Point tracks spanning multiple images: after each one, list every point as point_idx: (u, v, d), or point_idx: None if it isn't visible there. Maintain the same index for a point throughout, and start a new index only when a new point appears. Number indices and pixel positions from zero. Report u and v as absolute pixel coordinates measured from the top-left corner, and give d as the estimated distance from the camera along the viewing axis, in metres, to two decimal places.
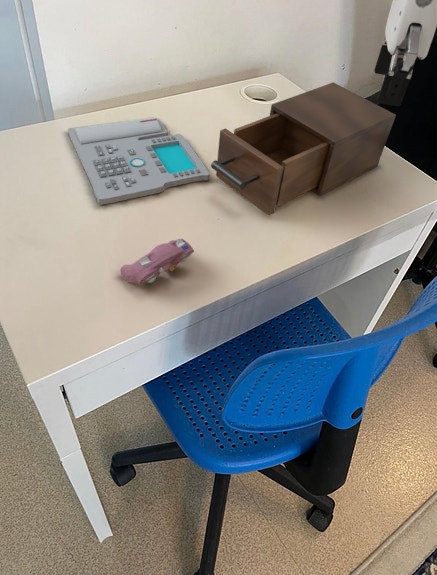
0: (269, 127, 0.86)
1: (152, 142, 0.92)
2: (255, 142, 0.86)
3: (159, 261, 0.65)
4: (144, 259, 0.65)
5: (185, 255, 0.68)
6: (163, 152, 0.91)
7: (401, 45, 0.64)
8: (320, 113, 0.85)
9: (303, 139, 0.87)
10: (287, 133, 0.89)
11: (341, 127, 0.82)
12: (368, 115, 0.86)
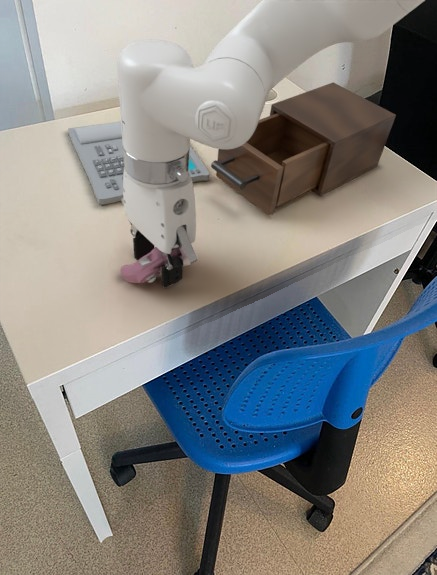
0: (269, 127, 0.86)
1: None
2: (255, 142, 0.86)
3: (159, 261, 0.65)
4: (144, 259, 0.65)
5: None
6: None
7: None
8: (320, 113, 0.85)
9: (303, 139, 0.87)
10: (287, 133, 0.89)
11: (341, 127, 0.82)
12: (368, 115, 0.86)
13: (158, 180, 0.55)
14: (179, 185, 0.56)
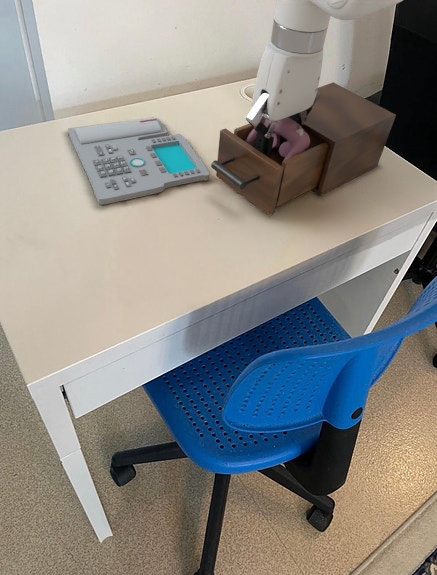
0: None
1: (152, 142, 0.92)
2: None
3: (298, 124, 0.80)
4: (299, 131, 0.78)
5: None
6: (163, 152, 0.91)
7: None
8: (320, 113, 0.85)
9: None
10: None
11: (341, 127, 0.82)
12: (368, 115, 0.86)
13: None
14: None
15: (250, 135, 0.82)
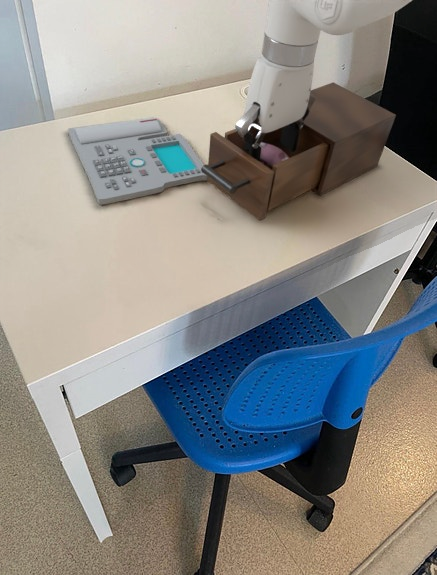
0: None
1: (152, 142, 0.92)
2: None
3: (285, 153, 0.82)
4: None
5: None
6: (163, 152, 0.91)
7: None
8: (320, 113, 0.85)
9: None
10: (279, 136, 0.88)
11: (341, 127, 0.82)
12: (368, 115, 0.86)
13: None
14: None
15: None
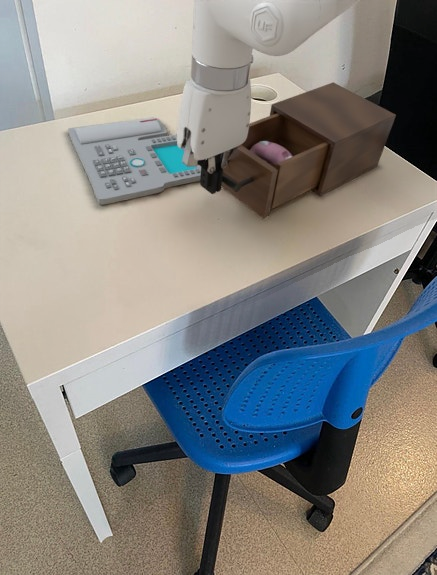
0: (264, 129, 0.85)
1: (152, 142, 0.92)
2: (250, 144, 0.85)
3: (288, 151, 0.82)
4: None
5: None
6: (163, 152, 0.91)
7: None
8: (320, 113, 0.85)
9: (298, 141, 0.87)
10: (282, 135, 0.89)
11: (341, 127, 0.82)
12: (368, 115, 0.86)
13: None
14: None
15: None
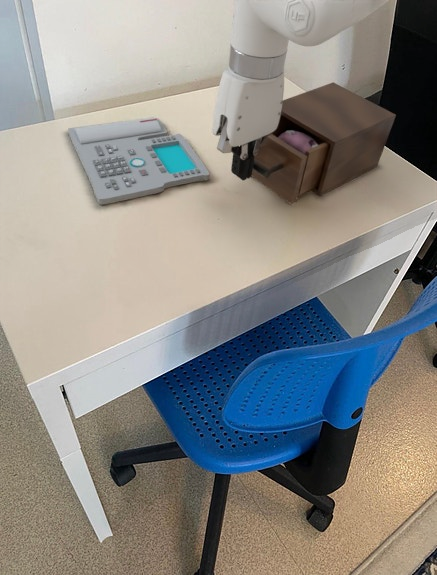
0: None
1: (152, 142, 0.92)
2: (276, 133, 0.88)
3: (314, 140, 0.85)
4: None
5: None
6: (163, 152, 0.91)
7: None
8: (320, 113, 0.85)
9: None
10: None
11: (341, 127, 0.82)
12: (368, 115, 0.86)
13: None
14: None
15: None
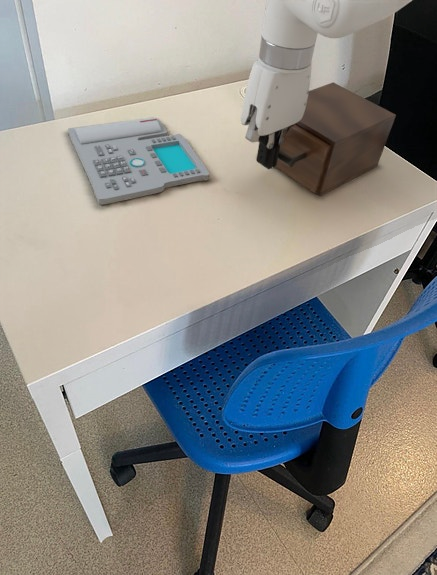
0: None
1: (152, 142, 0.92)
2: (298, 125, 0.91)
3: None
4: None
5: None
6: (163, 152, 0.91)
7: None
8: (320, 113, 0.85)
9: None
10: None
11: (341, 127, 0.82)
12: (368, 115, 0.86)
13: None
14: None
15: None
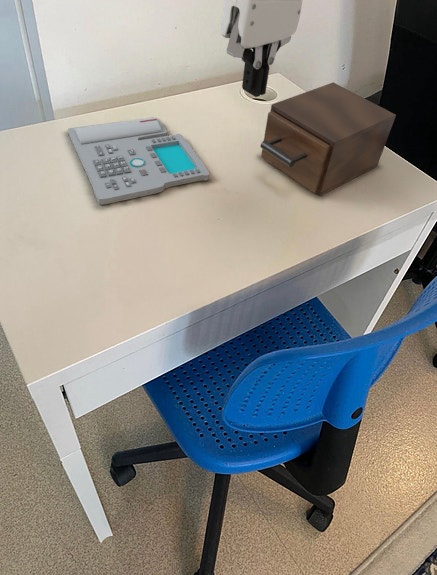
0: None
1: (152, 142, 0.92)
2: (298, 125, 0.91)
3: None
4: None
5: None
6: (163, 152, 0.91)
7: None
8: (320, 113, 0.85)
9: None
10: None
11: (341, 127, 0.82)
12: (368, 115, 0.86)
13: None
14: None
15: None
